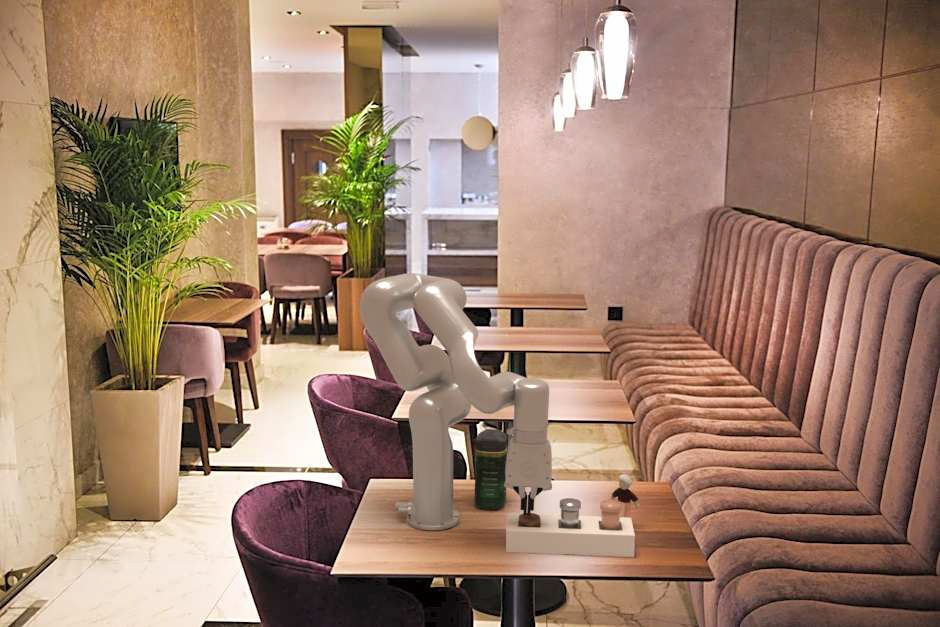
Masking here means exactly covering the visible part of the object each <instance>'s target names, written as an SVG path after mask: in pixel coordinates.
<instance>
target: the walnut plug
mask: <svg viewBox="0 0 940 627" xmlns="http://www.w3.org/2000/svg"><path fill="white" fill-rule="evenodd" d="M520 514H521V515H519V523H520V527H538V524H539V523H540V516H539V515H537V513H535V512H534V513H533V512H531V513H530V516H528V515H523V513H520Z"/></svg>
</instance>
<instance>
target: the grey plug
mask: <svg viewBox="0 0 940 627" xmlns="http://www.w3.org/2000/svg"><path fill="white" fill-rule="evenodd" d="M581 507H582V501H581V500H579V499H576V498H573V497H572V498H571V497H570V498H569V497H568V498H566V497H565V498H562V499H559V509H560V515H561V528H566V529H579V516H580V510H581Z"/></svg>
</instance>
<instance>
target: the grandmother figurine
mask: <svg viewBox="0 0 940 627" xmlns="http://www.w3.org/2000/svg"><path fill="white" fill-rule="evenodd" d="M633 484H634V482H633V480H632V478H631V477H630V476H629V475H628V474H623V473H622V474H620V475H619V476H618V486H619V487H617V488H616V489H615V490H614V491H613V492H612V494H611V497H610V498H609V500H616V498H617V500H616V501H619V502H621V503H622V510H621V511H620V517H625V518H632V508H631V507H632V505H631V502H632V503H634V505H635V508H636V509H639V508H641V506H640V502H639V498H638V497H637V495H636V494H635V493H634V492H633V491H631V490H630V489H629V488H630V487H631V486H632V485H633Z"/></svg>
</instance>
